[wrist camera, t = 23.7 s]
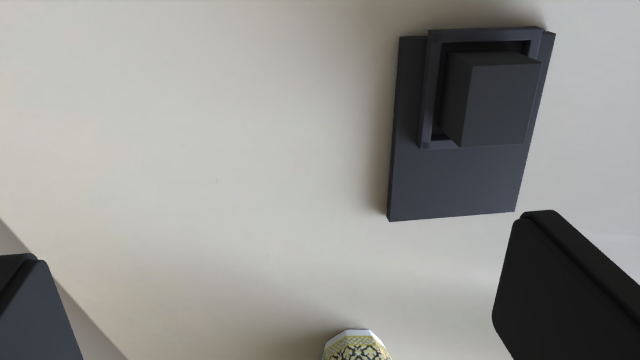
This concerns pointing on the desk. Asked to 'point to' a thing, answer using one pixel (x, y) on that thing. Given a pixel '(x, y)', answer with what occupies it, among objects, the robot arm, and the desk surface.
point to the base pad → (436, 147)
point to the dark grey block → (487, 97)
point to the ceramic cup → (355, 347)
